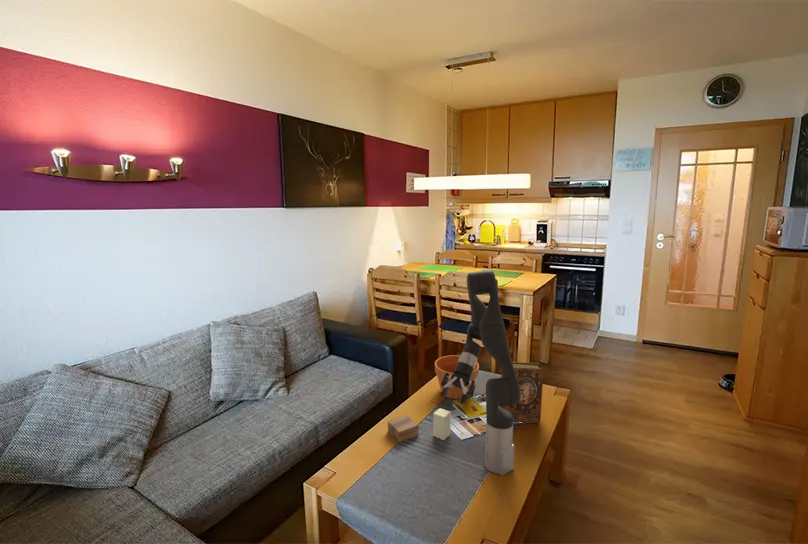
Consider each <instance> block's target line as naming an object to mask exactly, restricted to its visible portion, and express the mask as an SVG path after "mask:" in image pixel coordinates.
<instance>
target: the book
mask: <svg viewBox="0 0 808 544" xmlns="http://www.w3.org/2000/svg"><path fill="white" fill-rule="evenodd" d="M512 364H513V367H514V371H515V374H516V378H517V381H518V385H519V389H520V401H519V403H518V404H517V405H508V406H499V408H502V409H505V410H507V411H509V412H510V413H511V414H512V415H513V418H514V421H513V422H522V423H521V424H525V423H537V424H536V425H539V424H541V419H542V417H541V415H542V399H543V383H544V369H543V368H542V367H541V364H540V363H539V362H516V361H515V362H514V361H512ZM500 372H501V374H500V378H504V376H503V373H502V370H501V371H500Z"/></svg>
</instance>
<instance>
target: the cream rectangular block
mask: <svg viewBox="0 0 808 544" xmlns="http://www.w3.org/2000/svg"><path fill="white" fill-rule="evenodd" d="M432 416H433V419H432V420H433V421H432V422H433V423H432V425H433V426H432V429H433V431H432V433H433V434H432V436H433V437H434V436H435V438H437V439H439V438H440V440H441V441H442V440H443V441H445V440H446V439H448V437H449V436H451V419H452V417H451V411H450V410H447V409H444V408H441V407H440V408H438V409H437V410H436V411H434V412H433V415H432Z"/></svg>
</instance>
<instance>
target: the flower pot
mask: <svg viewBox="0 0 808 544" xmlns="http://www.w3.org/2000/svg"><path fill="white" fill-rule="evenodd" d="M460 356H461V355H458V354H455V355H454V354H451V355H446V356H441V357H439V358H437V359H436V360H435V361H434V372H435V374H436V376H437V381H438V384H439V389H440V392H441V394H442V391H443V389H444V387H443V386H442V385H441V382H442V380H443V378H444V376H445V374H446V373H448V374H450V375H452V374H453V373H454V370H455V367H456V365H457V362H458V360H459V357H460ZM479 369H480V364H479V362H478V361H477V362H476V365H475V368H474V371H473V373H472V376H471V378H470V381H473V380H474V381H475V382H476V378H478V376H479V371H480V370H479ZM450 380H451V378H450V379H449V380H448V382H449V381H450ZM448 382H447V383H448ZM466 387H467V392H469V388H470V383H469V384H468V385H467V386H466ZM463 394H464V392H463V389H460V388H458V387H455V386H454V387H452V388H450V389H448V392H447V394H446V397H447V398H449V399H455V400H461V397H462V395H463ZM446 397H445V398H446Z"/></svg>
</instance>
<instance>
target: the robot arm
mask: <svg viewBox="0 0 808 544" xmlns="http://www.w3.org/2000/svg"><path fill="white" fill-rule="evenodd" d="M466 288H467V293H468V299H469V306H470V322H471V323H469V324H468V326H467V331H466V340H465V345H464V347H463V350H462V352H461V354H460V355H459V356H460V357H459V360H458V362H457V365H456V367H455V370H454V373H453V374H452V375H450V374H448V373H446V374H445V376H444V378H443V380H442V382H441V385H442V386H443V387H444V389H443V391H442V393H441V394H440V395H441V397H442V399H446V394H447V392H448V389H450V388H452V387H454V386H455V387H458V388H460V389H463V392H464V394H463V395H462V397H461V399H459V400H460V401H459V404H460V405H461V406H462V405H464V404H465V403H466V401H467V399H468V398H469V397H473V396H474V394H475V393H474V392H475V389H476V385H477V382H476V380H475V381H474V380H473V381H470V378H471V376H472V373H473V371H474V368H475V365H476V362H477V363H478V358H479V355H480V353H481V351H482V347H481V345H480V344H478V343H477V342H476V341H474V340H473V339H475V340H477V341H480V342H481V343H482V346H483V348H484V349H485V350H486V351H487V353H488V354H489V355H490V356H491V357H492V358H493V359H494V361H495V362H496V363H497V364H498V366H499V368H500V370H501V371H502V373H503V376H504V378H501V377H495V378H494V377H493V378H488V379H487V381H486V384H485V414H486V418H485V422H486V424H485V443H484V444H485V445H484V449H485V450H484V467H485V468H486V469H487V470H488V472H491V473H493V474H497V475H500V476H501V477H503V476H505V475H506V474H508V473H510V472H511V471H513V470H514V465H515V464H514V463H515V450H516V449H515V447H516V446H515V444H514V443H513V437H514V423H513V421H514V418H513V415H512V414H511V413H510V412H509V411H507V410H505V409H502V408H500V406H508V405H517V404H518V403H519V401H520V389H519V385H518V381H517V378H516V374H515V371H514V367H513V364H512V362H513V360H512V356H511V352H510V347H509V341H508V336H507V331H506V325H505V323H504V318H503V314H502V310H501V305H500V298H499V292H498V284H497V279H496V274H495V272H494V270H492V269H484V270H475V271H470V272H468V273H467V276H466ZM487 294H488V295H489V300H488V303H487V305H486V304H485V303H484V302H483V301H482V300H481V299H480V298H479V297H478V295H487ZM450 378H451V380H450V381H449V382H448V380H449V379H450ZM447 382H448V383H447ZM469 383H470V388H469V392H467V387H466V386H467V385H468V384H469Z"/></svg>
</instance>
